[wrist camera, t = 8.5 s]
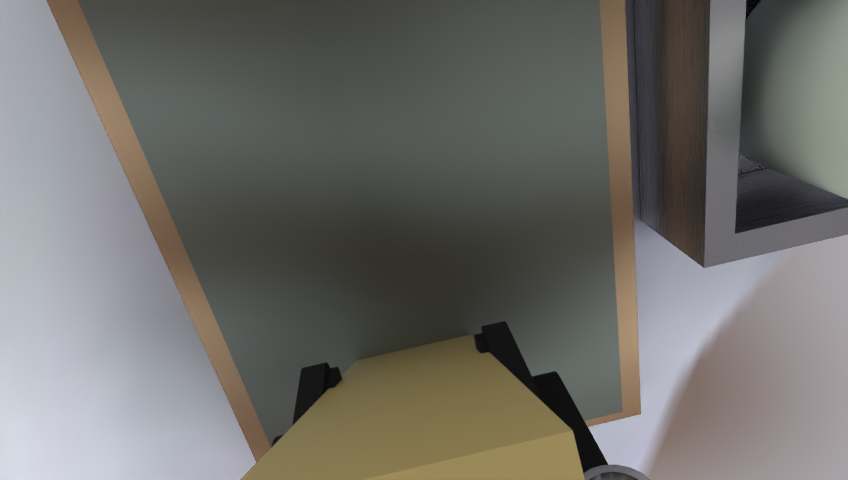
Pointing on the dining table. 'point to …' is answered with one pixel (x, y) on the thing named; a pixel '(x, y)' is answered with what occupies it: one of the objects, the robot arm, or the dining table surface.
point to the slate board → (378, 180)
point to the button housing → (711, 142)
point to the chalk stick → (425, 424)
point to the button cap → (797, 91)
